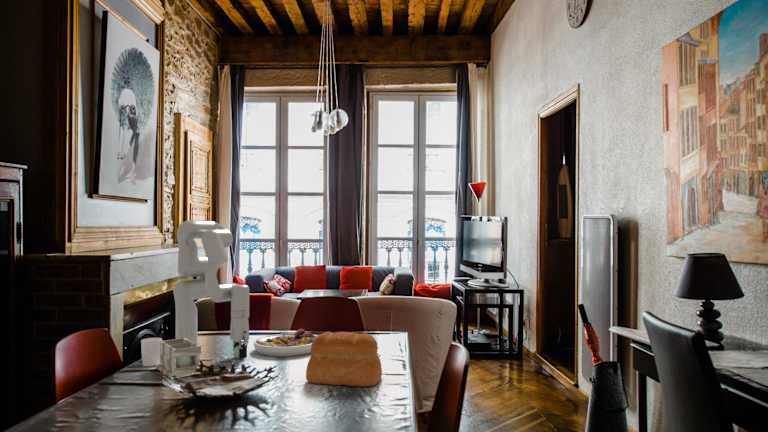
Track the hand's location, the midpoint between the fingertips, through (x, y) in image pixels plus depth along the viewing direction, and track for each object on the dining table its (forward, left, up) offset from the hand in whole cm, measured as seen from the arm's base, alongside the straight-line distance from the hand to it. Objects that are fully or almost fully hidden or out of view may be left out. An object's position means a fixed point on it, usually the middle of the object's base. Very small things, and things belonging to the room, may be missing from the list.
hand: (240, 356), depth 218 cm
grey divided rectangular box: (+4, -26, -1) cm, 26 cm away
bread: (+55, +17, -1) cm, 58 cm away
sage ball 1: (+9, -26, +3) cm, 28 cm away
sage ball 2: (0, 0, +2) cm, 2 cm away
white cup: (-14, -32, -1) cm, 35 cm away
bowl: (-1, +23, -1) cm, 23 cm away
